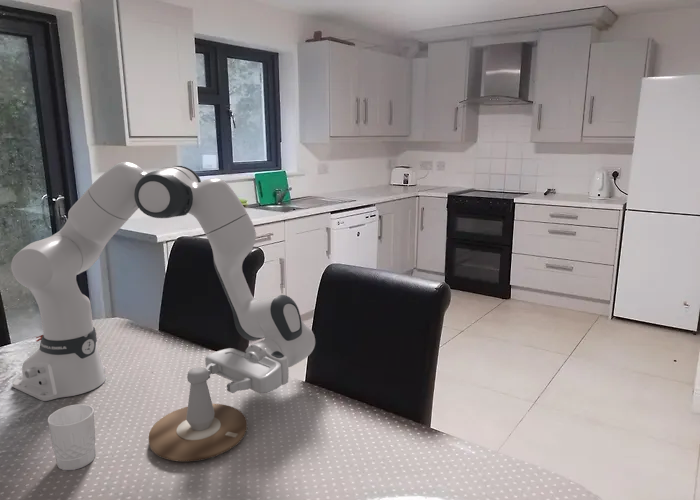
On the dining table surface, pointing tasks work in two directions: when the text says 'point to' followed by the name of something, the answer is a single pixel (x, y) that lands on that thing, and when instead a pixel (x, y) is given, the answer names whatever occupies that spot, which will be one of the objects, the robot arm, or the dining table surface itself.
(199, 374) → the salt shaker
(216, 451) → the turntable
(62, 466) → the white cup
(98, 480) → the dining table surface
